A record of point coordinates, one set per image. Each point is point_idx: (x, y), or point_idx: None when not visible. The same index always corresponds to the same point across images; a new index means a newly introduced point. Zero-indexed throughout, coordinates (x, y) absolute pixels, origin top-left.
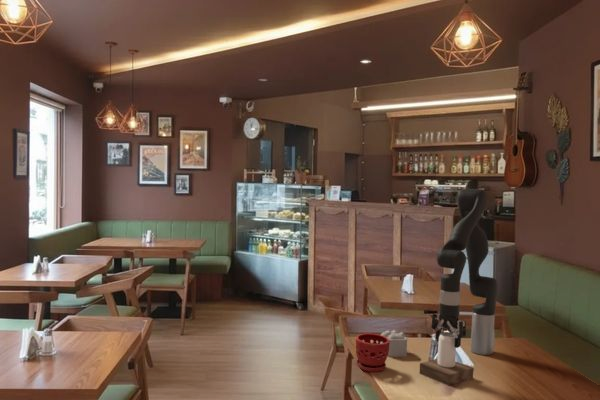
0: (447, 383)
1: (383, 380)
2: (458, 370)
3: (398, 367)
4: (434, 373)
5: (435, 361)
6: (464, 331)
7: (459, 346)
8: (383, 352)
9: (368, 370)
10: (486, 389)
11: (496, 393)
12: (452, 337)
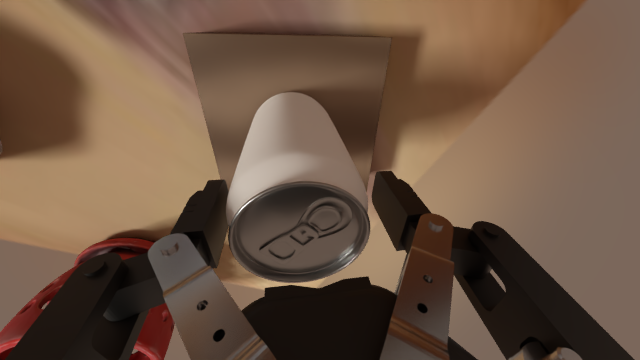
0: None
1: (241, 275)
2: (362, 135)
3: (155, 200)
4: None
5: (232, 135)
6: (524, 275)
7: (390, 171)
8: (171, 320)
9: None
10: (453, 94)
11: (489, 94)
12: (361, 235)
